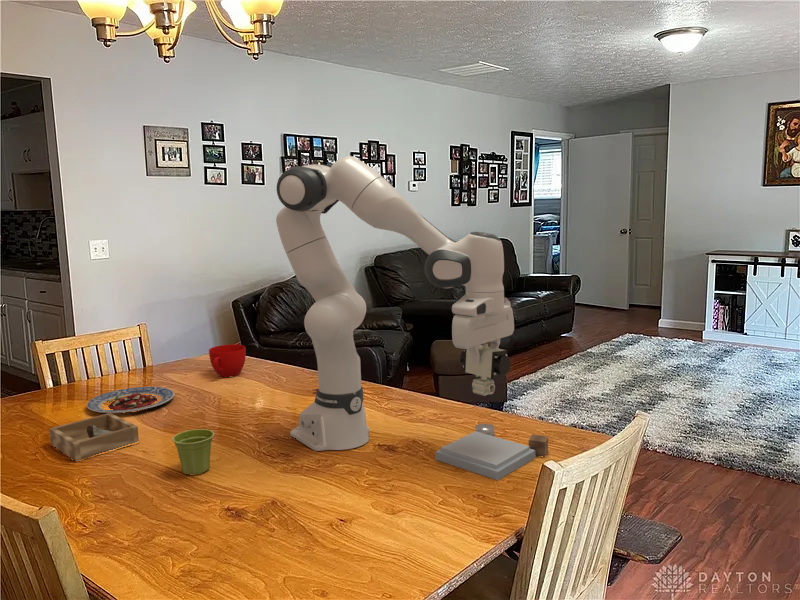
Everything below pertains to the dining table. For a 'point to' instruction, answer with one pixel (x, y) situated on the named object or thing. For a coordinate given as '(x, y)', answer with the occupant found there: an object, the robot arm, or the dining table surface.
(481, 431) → the grey metal bushing
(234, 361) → the ceramic cup
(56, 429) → the rock tray
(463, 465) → the stand
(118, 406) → the ceramic plate
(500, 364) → the pneumatic valve
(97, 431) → the rock sample
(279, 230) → the robot arm
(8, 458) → the dining table surface
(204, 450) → the plant pot
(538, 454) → the walnut block
